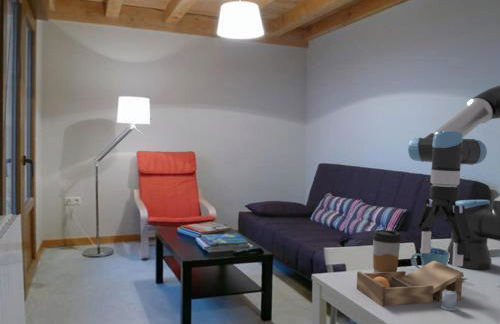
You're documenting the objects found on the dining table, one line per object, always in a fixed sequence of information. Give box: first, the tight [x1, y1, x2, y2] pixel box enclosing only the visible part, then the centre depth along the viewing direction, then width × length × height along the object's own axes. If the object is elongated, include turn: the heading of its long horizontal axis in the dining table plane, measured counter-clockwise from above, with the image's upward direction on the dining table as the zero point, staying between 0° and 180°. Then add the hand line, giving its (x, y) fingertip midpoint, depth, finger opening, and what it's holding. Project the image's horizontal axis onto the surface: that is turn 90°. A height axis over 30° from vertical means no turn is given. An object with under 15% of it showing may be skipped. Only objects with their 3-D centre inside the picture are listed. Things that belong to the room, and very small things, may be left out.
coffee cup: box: [372, 229, 402, 273], centre depth 133 cm, size 8×8×15 cm
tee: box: [440, 290, 458, 312], centre depth 113 cm, size 4×4×4 cm
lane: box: [356, 260, 465, 307], centre depth 122 cm, size 26×13×8 cm, turn 104°
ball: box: [374, 277, 390, 288], centre depth 120 cm, size 5×5×5 cm
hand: (440, 259), depth 124 cm, fingers open, 13 cm apart
